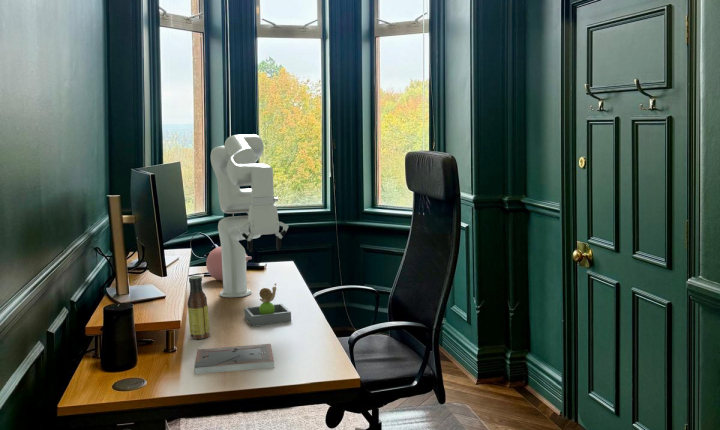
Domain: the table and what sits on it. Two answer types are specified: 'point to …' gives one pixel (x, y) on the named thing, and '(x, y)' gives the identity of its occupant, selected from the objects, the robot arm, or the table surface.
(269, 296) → the snail figurine
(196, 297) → the sauce bottle
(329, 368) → the table surface
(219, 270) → the balloon
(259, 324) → the bin
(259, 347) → the picture frame
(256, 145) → the robot arm
